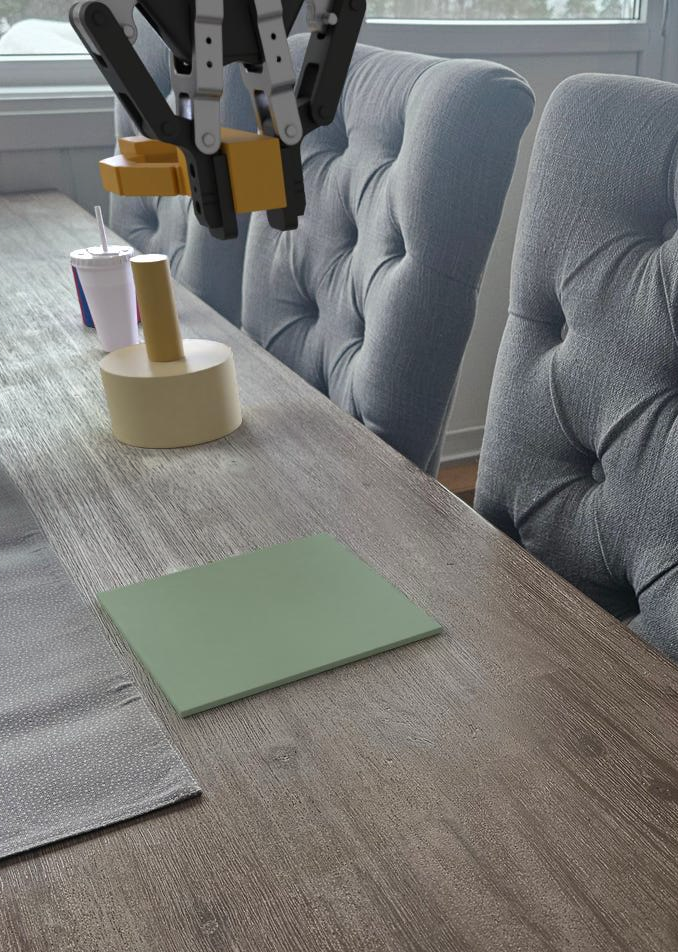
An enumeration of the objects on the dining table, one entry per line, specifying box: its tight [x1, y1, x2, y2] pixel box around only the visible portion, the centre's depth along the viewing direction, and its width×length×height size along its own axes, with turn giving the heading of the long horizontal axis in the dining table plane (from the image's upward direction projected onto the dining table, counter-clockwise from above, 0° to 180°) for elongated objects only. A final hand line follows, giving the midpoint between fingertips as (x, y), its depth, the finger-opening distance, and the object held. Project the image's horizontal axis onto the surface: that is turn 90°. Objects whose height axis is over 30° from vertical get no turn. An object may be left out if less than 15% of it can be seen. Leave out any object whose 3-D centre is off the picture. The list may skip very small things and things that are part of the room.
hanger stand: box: [98, 253, 243, 449], centre depth 94 cm, size 11×11×14 cm
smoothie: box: [69, 205, 140, 353], centre depth 115 cm, size 6×6×14 cm
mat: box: [95, 531, 443, 719], centre depth 69 cm, size 16×16×1 cm
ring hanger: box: [98, 126, 287, 214], centre depth 58 cm, size 16×8×3 cm, turn 33°
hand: (253, 231), depth 54 cm, fingers closed on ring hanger, 2 cm apart
